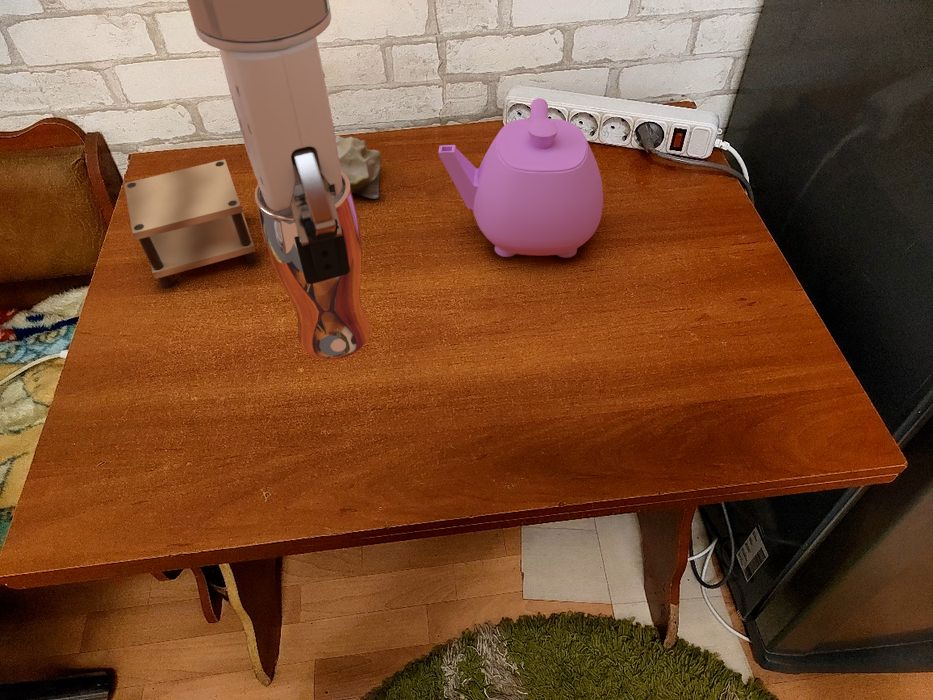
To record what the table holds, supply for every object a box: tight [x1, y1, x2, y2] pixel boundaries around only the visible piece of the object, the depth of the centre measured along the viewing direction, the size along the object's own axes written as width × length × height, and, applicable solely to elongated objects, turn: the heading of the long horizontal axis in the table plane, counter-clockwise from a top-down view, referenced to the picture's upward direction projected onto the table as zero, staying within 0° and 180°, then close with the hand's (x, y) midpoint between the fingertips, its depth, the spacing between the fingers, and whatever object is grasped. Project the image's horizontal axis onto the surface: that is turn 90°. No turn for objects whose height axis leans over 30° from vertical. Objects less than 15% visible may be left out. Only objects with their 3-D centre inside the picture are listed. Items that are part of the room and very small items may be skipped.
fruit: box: [335, 135, 382, 200], centre depth 93 cm, size 9×9×8 cm
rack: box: [123, 158, 258, 289], centre depth 83 cm, size 12×10×9 cm
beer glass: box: [254, 171, 371, 361], centre depth 53 cm, size 7×7×15 cm
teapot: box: [437, 97, 604, 259], centre depth 84 cm, size 20×20×15 cm
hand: (314, 242), depth 51 cm, fingers closed on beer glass, 7 cm apart
